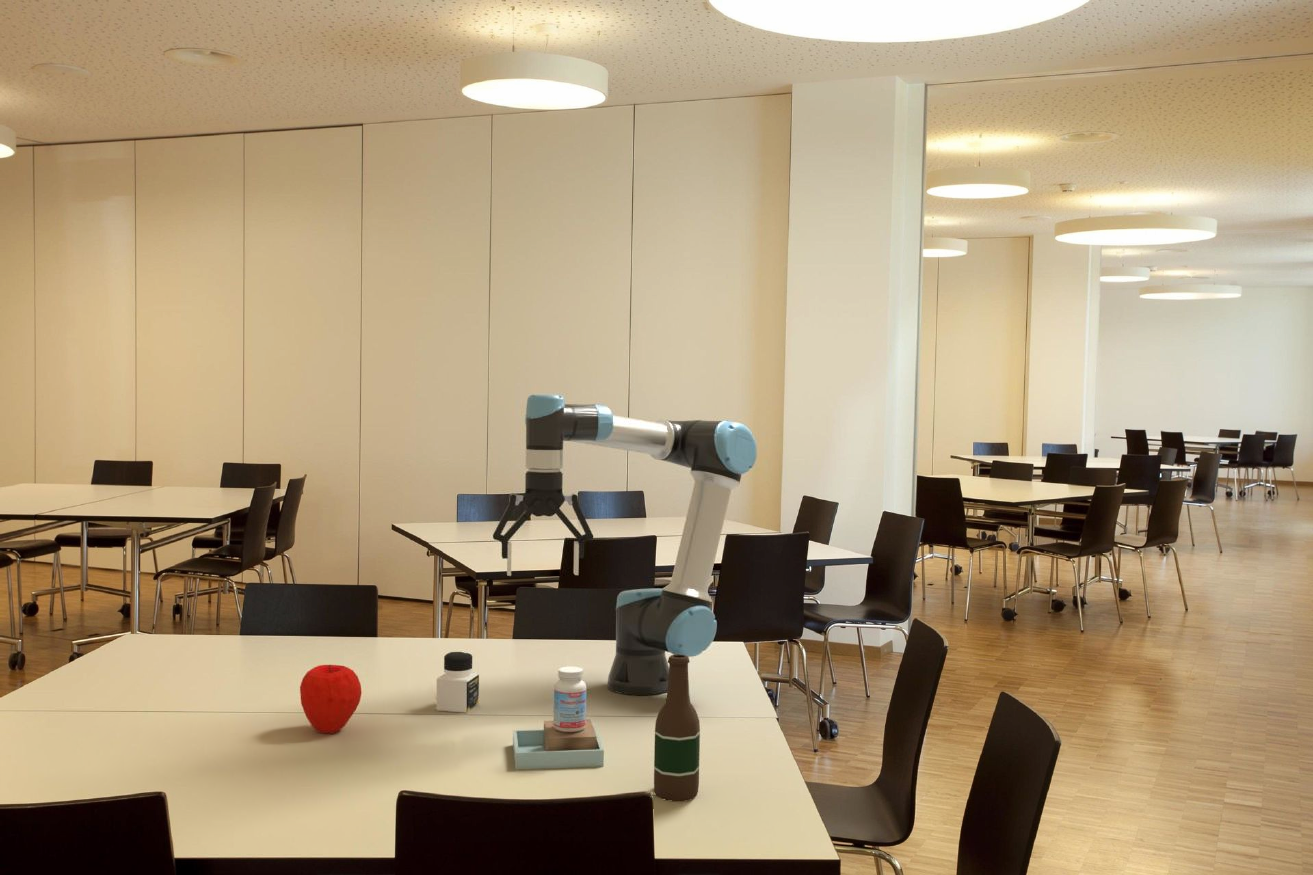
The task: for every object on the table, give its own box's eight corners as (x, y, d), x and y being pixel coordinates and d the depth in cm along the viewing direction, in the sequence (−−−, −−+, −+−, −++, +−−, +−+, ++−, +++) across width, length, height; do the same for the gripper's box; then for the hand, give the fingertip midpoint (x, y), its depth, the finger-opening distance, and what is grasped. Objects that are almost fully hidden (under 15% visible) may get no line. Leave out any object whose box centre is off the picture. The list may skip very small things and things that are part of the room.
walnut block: (590, 744, 214) (590, 719, 214) (596, 763, 203) (596, 736, 203) (543, 746, 213) (543, 720, 212) (547, 765, 202) (547, 738, 202)
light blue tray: (595, 745, 216) (595, 727, 216) (603, 769, 202) (603, 750, 202) (512, 747, 213) (513, 729, 213) (515, 772, 199) (515, 753, 199)
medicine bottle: (467, 713, 236) (467, 657, 235) (435, 710, 237) (436, 655, 237) (479, 704, 243) (479, 650, 242) (448, 702, 244) (449, 648, 244)
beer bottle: (651, 786, 193) (654, 650, 193) (695, 785, 194) (698, 650, 193) (655, 802, 186) (658, 661, 185) (701, 802, 186) (704, 661, 185)
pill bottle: (560, 734, 204) (561, 674, 203) (548, 725, 209) (549, 667, 209) (591, 730, 206) (591, 671, 206) (578, 722, 212) (578, 664, 211)
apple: (372, 725, 226) (372, 660, 225) (338, 742, 215) (338, 674, 214) (323, 719, 230) (323, 655, 229) (287, 735, 218) (287, 668, 218)
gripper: (603, 469, 230) (601, 570, 230) (481, 468, 226) (480, 571, 226) (607, 472, 222) (605, 576, 223) (482, 471, 218) (480, 577, 219)
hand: (542, 574), depth 225 cm, fingers open, 13 cm apart
